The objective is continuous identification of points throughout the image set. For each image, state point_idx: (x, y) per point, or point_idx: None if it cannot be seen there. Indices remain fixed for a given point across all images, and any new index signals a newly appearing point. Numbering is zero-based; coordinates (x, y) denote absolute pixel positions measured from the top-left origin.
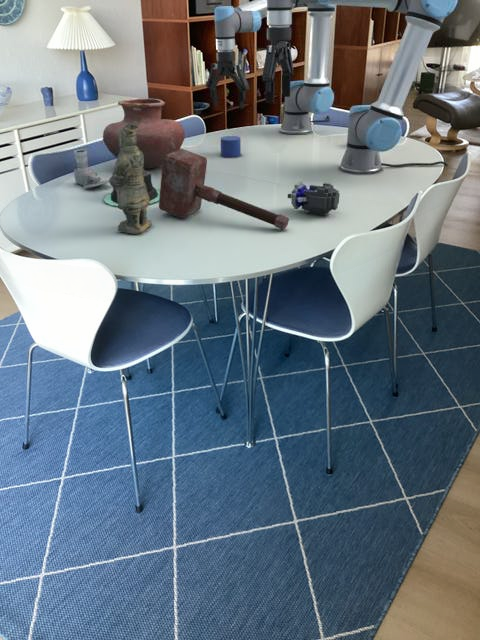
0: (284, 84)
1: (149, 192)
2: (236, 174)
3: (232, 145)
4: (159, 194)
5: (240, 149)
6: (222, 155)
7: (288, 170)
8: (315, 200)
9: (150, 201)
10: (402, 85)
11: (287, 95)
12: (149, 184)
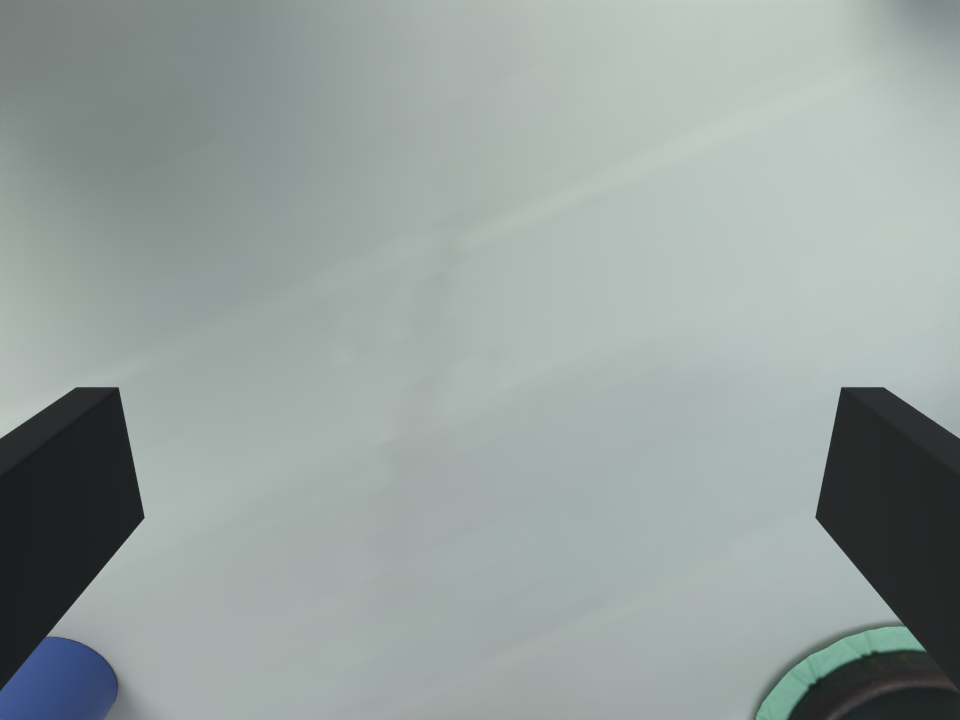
0: (3, 619)
1: (928, 685)
2: (375, 510)
3: (58, 709)
4: (839, 659)
5: None
6: (110, 707)
7: (154, 280)
8: None
9: None
10: None
11: (113, 430)
12: (939, 716)
